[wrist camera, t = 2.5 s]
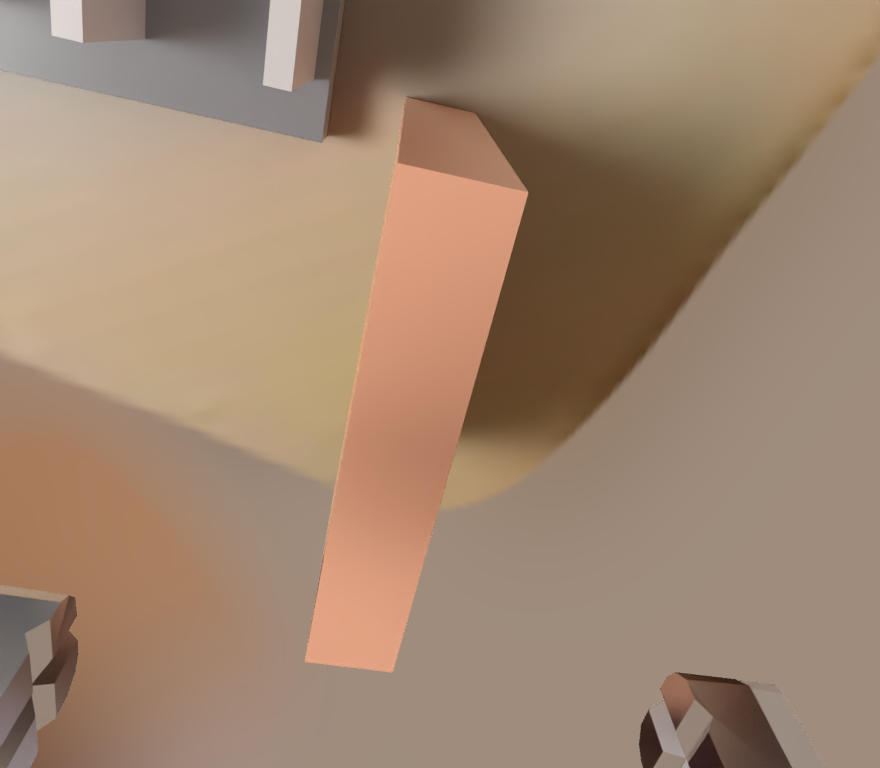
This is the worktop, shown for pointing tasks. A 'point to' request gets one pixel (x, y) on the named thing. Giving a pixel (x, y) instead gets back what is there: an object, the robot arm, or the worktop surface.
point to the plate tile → (413, 376)
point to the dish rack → (187, 55)
